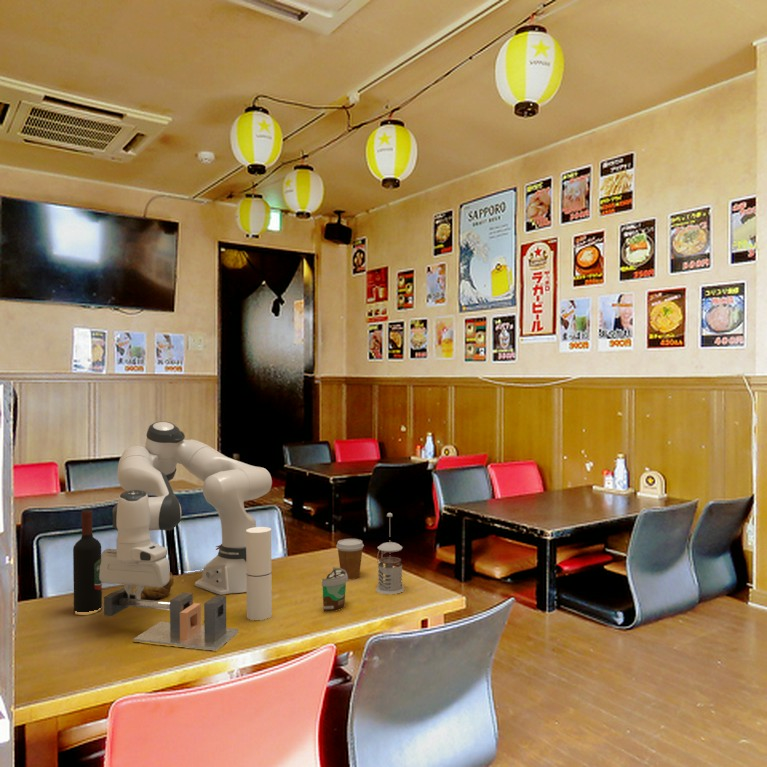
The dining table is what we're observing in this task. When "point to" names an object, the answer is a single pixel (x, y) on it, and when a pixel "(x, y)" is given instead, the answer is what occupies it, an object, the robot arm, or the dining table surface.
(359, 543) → the disposable coffee cup
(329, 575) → the food container
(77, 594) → the wine bottle
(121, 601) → the shaft
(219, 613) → the shaft frame
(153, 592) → the bread roll
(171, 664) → the dining table surface
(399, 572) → the french press
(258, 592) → the cylindrical container
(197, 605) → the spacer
